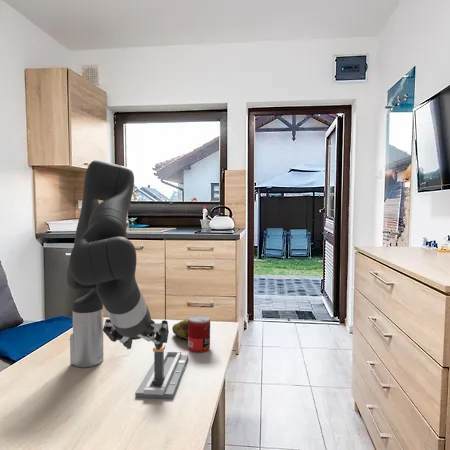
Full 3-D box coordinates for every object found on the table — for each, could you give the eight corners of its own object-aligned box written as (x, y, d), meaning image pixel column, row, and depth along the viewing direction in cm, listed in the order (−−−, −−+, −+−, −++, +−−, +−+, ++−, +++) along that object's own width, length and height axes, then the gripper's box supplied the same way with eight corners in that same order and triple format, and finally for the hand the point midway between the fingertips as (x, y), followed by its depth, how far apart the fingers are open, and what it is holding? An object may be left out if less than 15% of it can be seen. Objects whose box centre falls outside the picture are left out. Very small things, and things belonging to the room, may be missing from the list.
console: (134, 398, 92) (134, 389, 92) (159, 357, 118) (158, 350, 118) (172, 399, 92) (172, 390, 92) (188, 358, 118) (188, 351, 117)
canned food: (207, 353, 121) (207, 322, 121) (185, 351, 123) (185, 320, 122) (212, 345, 129) (212, 315, 129) (191, 343, 130) (191, 314, 130)
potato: (192, 332, 143) (192, 312, 142) (198, 344, 130) (198, 322, 130) (171, 334, 140) (171, 314, 140) (175, 346, 128) (175, 324, 128)
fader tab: (152, 385, 96) (152, 348, 96) (155, 379, 99) (155, 344, 99) (162, 385, 96) (162, 348, 96) (165, 380, 99) (165, 344, 99)
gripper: (166, 294, 73) (176, 331, 85) (98, 293, 74) (118, 330, 86) (159, 328, 68) (172, 362, 80) (87, 326, 69) (110, 360, 81)
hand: (144, 345), depth 83 cm, fingers open, 6 cm apart
